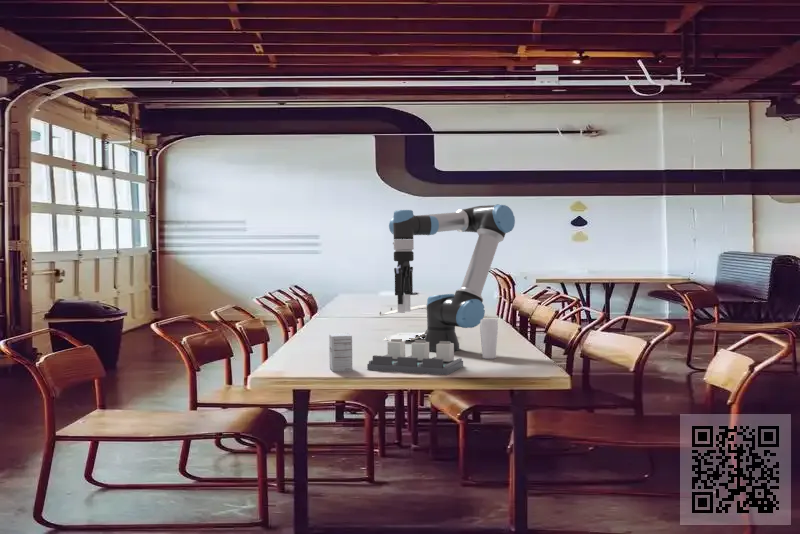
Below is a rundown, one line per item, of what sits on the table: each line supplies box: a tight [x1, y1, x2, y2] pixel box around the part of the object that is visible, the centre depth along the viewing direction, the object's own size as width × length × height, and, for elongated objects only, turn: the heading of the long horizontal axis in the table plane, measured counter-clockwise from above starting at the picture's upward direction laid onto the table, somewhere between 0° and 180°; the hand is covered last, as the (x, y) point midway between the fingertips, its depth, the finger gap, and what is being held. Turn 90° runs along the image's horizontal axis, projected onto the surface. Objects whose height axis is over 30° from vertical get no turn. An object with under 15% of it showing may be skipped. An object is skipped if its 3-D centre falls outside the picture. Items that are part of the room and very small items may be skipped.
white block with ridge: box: [411, 339, 430, 360], centre depth 274 cm, size 5×5×7 cm
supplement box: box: [328, 332, 353, 373], centre depth 268 cm, size 7×7×13 cm
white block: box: [387, 339, 406, 359], centre depth 278 cm, size 5×5×7 cm
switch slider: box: [435, 341, 455, 362], centre depth 271 cm, size 5×5×7 cm
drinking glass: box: [479, 318, 499, 360], centre depth 290 cm, size 7×7×15 cm
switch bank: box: [366, 353, 464, 376], centre depth 270 cm, size 18×30×5 cm, turn 68°
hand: (404, 312), depth 285 cm, fingers open, 5 cm apart
